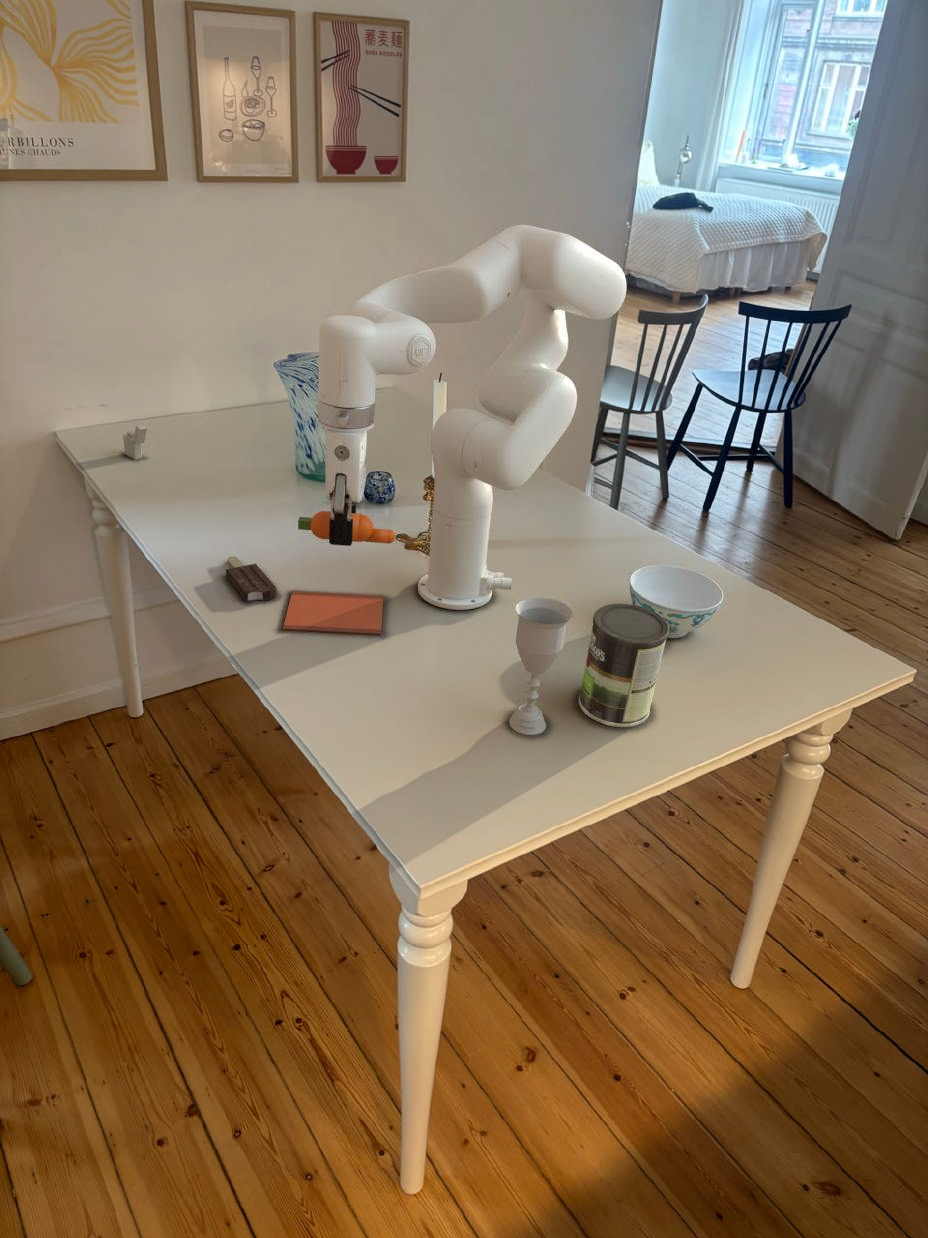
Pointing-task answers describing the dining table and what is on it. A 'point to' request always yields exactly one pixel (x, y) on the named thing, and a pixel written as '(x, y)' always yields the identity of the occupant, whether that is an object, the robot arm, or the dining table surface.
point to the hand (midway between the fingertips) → (342, 536)
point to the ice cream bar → (250, 581)
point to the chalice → (537, 653)
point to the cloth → (334, 613)
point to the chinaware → (676, 596)
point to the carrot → (360, 528)
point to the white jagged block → (134, 442)
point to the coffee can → (622, 664)
